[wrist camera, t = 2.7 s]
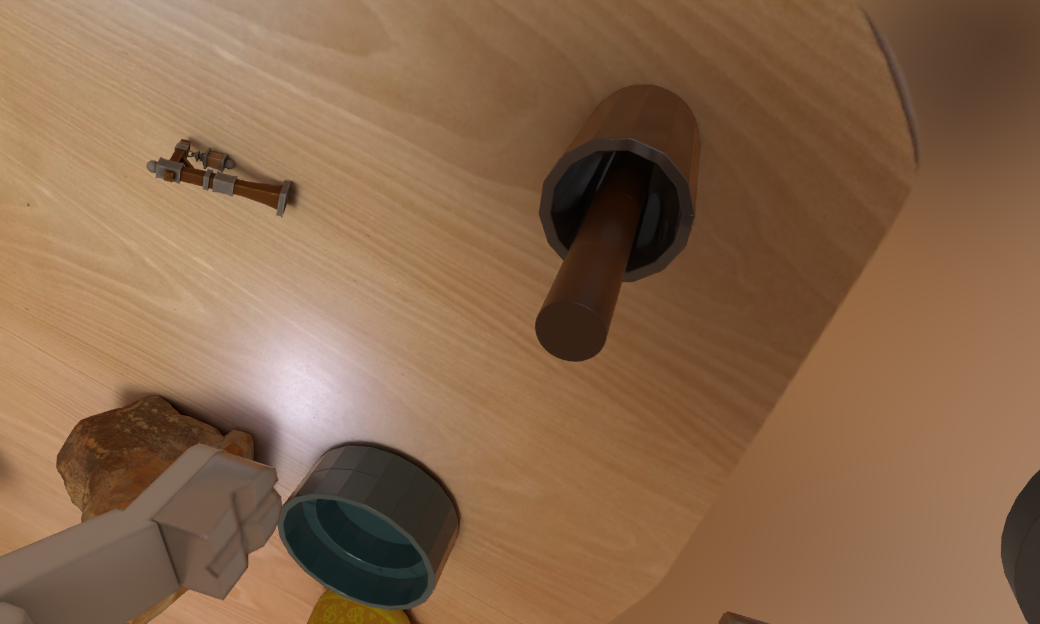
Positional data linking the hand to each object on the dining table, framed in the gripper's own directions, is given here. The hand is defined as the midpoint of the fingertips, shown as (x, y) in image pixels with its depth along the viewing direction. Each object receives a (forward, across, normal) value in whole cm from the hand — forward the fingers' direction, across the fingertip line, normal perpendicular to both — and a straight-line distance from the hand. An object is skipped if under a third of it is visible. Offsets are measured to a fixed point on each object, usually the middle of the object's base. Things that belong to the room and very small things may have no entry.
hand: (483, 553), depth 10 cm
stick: (+25, 0, 0) cm, 25 cm away
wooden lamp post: (+26, +25, +7) cm, 37 cm away
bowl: (+26, +15, +36) cm, 47 cm away
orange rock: (+26, +35, +37) cm, 57 cm away
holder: (+26, 0, 0) cm, 26 cm away
